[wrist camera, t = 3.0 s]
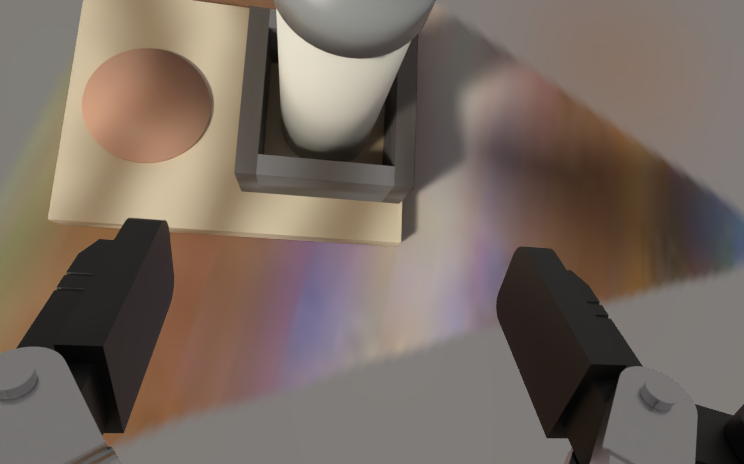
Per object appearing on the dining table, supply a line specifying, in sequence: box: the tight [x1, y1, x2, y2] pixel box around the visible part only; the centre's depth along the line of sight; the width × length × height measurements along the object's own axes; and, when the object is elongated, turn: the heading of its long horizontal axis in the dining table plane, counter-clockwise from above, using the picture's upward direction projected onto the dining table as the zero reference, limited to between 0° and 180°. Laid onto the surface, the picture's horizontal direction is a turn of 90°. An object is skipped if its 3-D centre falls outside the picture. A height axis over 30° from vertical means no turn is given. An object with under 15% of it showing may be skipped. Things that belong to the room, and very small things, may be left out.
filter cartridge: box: [273, 0, 436, 162], centre depth 21 cm, size 5×5×14 cm
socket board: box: [48, 0, 418, 246], centre depth 26 cm, size 18×13×5 cm
